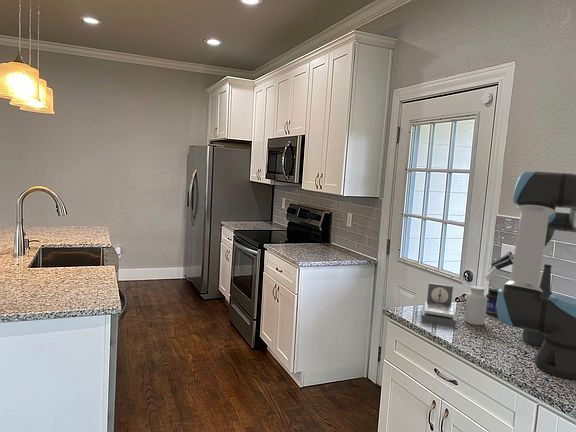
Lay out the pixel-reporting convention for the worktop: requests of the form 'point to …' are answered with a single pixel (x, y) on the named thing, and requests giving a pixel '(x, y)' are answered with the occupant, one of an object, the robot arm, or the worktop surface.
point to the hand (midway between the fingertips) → (498, 283)
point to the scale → (440, 296)
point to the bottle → (545, 285)
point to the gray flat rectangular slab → (439, 309)
